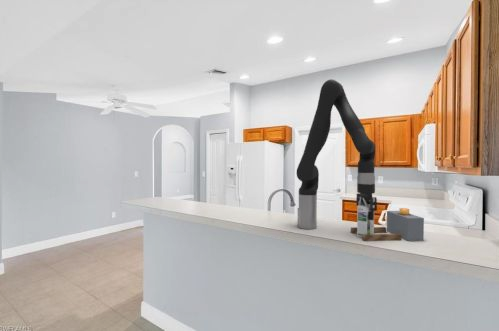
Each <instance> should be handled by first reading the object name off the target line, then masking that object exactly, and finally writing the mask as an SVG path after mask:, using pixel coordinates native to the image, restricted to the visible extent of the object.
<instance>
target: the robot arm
mask: <svg viewBox="0 0 499 331" xmlns="http://www.w3.org/2000/svg"><path fill="white" fill-rule="evenodd" d="M333 107H335V109H336V110H337V112H338V114H339V116H340V119H341V122H342V125H343V126H344V128H345V130H346V131H347V133H348V135H349V136H350V138H351V141H352V144H353V145H354V148H355V149H356V151H357V152H358V153H359V160H358V161H357V176H356V189H357V190H356V192H357V193H356V197H355V198H356V199H355V200H356V202H355V203H356V204H355V205H356V206H357V207H358V205H360V204H363V205H365V206H366V207H367V208H368V219H369V220H374V221H375V212H377V211H378V198H377V197H376V196H373V194H375V193H376V176H375V175H376V174H375V158H376V144H375V141H373V140H371V139H370V138H369V135H368V134H367V132H366V130H365V127H364V125H363V123H362V122H361V120H360V119H359V117H358V115H357V114H356V112H355V110H353V108H352V105H351V104H350V102H349V99H348V98H347V95H346V92H345V89H344V86H343V85H342V84H341V83H340V82H338V81H337V80H336V79H327V80H325V82H323V83H322V86H321V87H320V91H319V97H318V101H317V107H316V110H315V113H314V116H313V120H312V124H311V127H310V130H309V133H308V136H307V140H306V143H305V145H304V146H305V147H304V150H303V153H302V155H301V156H302V157H301V158H300V161H299V164H298V166H297V168H296V178H297V179H298V180H299V181H300V182H301V185H300V187H299V188H298V207H297V227H298V228H299V229H304V230H315V229H317V227H318V226H317V224H318V221H317V220H318V219H317V218H318V216H317V215H318V213H317V210H318V209H317V208H318V205H317V204H318V202H317V201H318V200H317V199H318V189H319V180H320V179H319V176H320V172H319V168H318V167H317V165H316V160H317V158H318V156H319V154H320V152H321V151H322V149H323V148H324V146H325V144H326V142H327V140H328V138H329V133H330V130H331V124H332V123H331V121H332V120H331V119H332V110H333Z"/></svg>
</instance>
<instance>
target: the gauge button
mask: <svg viewBox="0 0 499 331" xmlns="http://www.w3.org/2000/svg"><path fill="white" fill-rule="evenodd" d="M398 211H399V215H402V216H405V215H409V214H410V208H405V207H400V208H399V210H398Z"/></svg>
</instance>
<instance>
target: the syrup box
mask: <svg viewBox="0 0 499 331" xmlns="http://www.w3.org/2000/svg"><path fill="white" fill-rule="evenodd" d="M356 208H357V219H356V220H357V221H356V222H357V226H356V227H357V233H356V237H359V238H362V234H375V233H374V227H375V219H374V220H369V219H368V208H367V207H366V206H365V205H363V204H360V205H358V206H357V207H356Z"/></svg>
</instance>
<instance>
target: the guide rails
mask: <svg viewBox="0 0 499 331" xmlns="http://www.w3.org/2000/svg"><path fill="white" fill-rule="evenodd" d="M350 233H351V234H357V226H356V227H354V226H353V227H350ZM361 238H362V241H363V242H378V241H381V242H382V241H385V242H386V241H402V235H401V234H392V233H387V226H386V227H385V226H374V234H362V237H361Z"/></svg>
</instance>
